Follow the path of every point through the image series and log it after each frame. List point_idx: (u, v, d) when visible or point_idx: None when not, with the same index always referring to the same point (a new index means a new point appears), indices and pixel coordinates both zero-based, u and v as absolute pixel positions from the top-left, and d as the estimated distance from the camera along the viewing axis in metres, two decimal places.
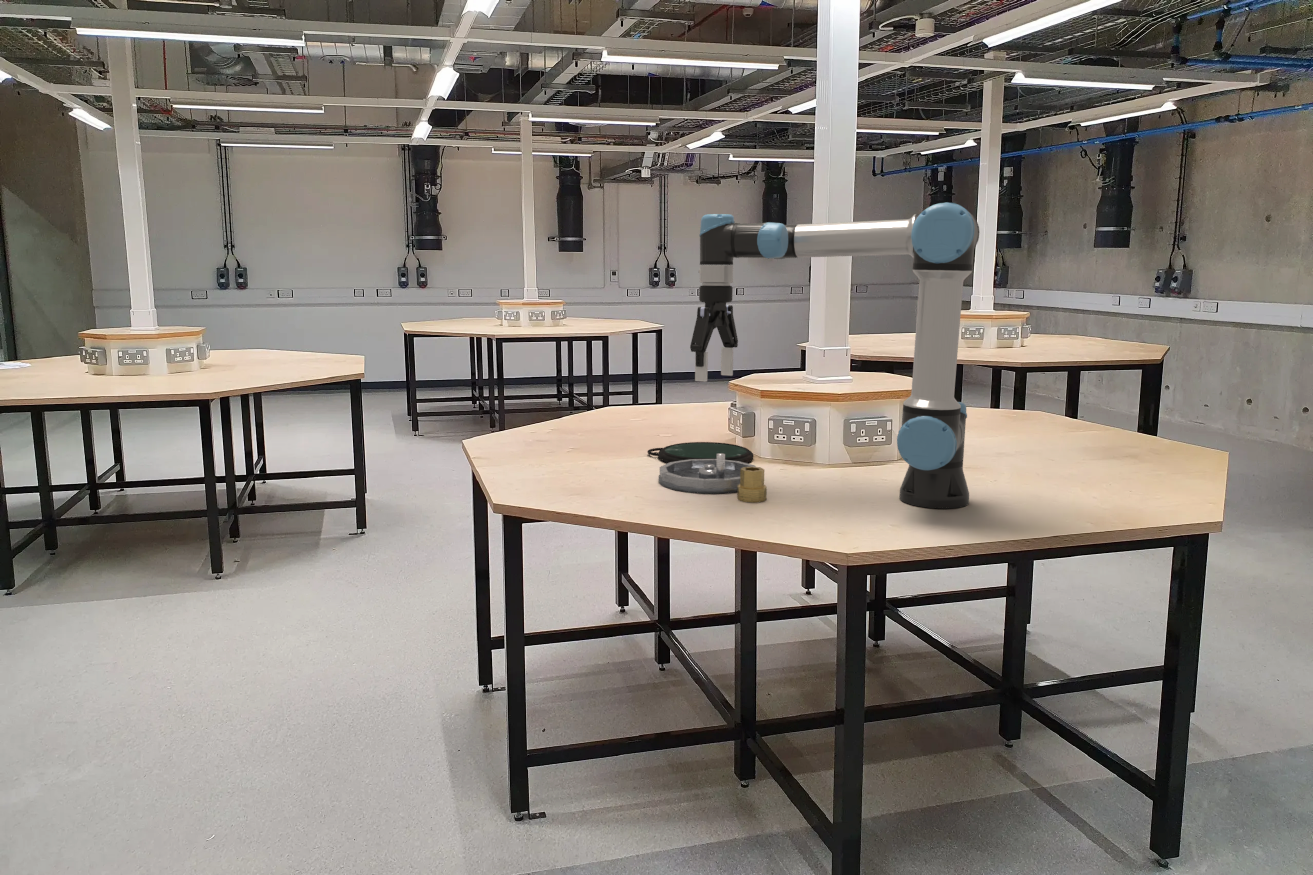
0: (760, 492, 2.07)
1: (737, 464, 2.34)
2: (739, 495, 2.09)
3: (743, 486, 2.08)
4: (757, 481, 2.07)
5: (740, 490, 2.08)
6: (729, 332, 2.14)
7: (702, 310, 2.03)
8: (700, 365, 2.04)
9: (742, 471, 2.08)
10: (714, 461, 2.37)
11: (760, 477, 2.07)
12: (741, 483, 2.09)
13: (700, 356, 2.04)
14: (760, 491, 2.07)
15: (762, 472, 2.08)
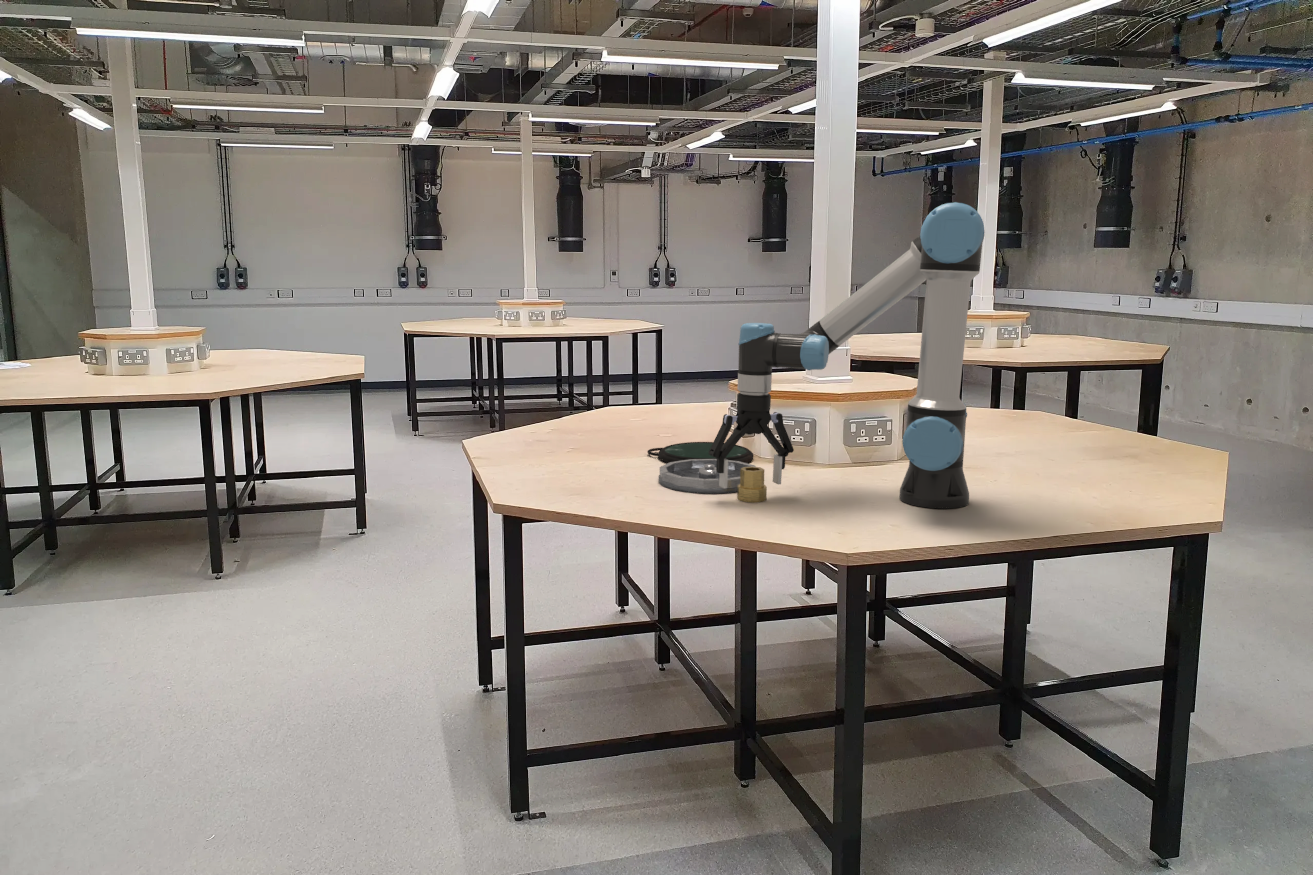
0: (760, 492, 2.07)
1: (737, 464, 2.34)
2: (739, 495, 2.09)
3: (743, 486, 2.08)
4: (757, 481, 2.07)
5: (740, 490, 2.08)
6: (775, 440, 2.09)
7: (725, 418, 2.05)
8: (718, 471, 2.06)
9: (742, 471, 2.08)
10: (714, 461, 2.37)
11: (760, 477, 2.07)
12: (741, 483, 2.09)
13: (718, 463, 2.06)
14: (760, 491, 2.07)
15: (762, 472, 2.08)
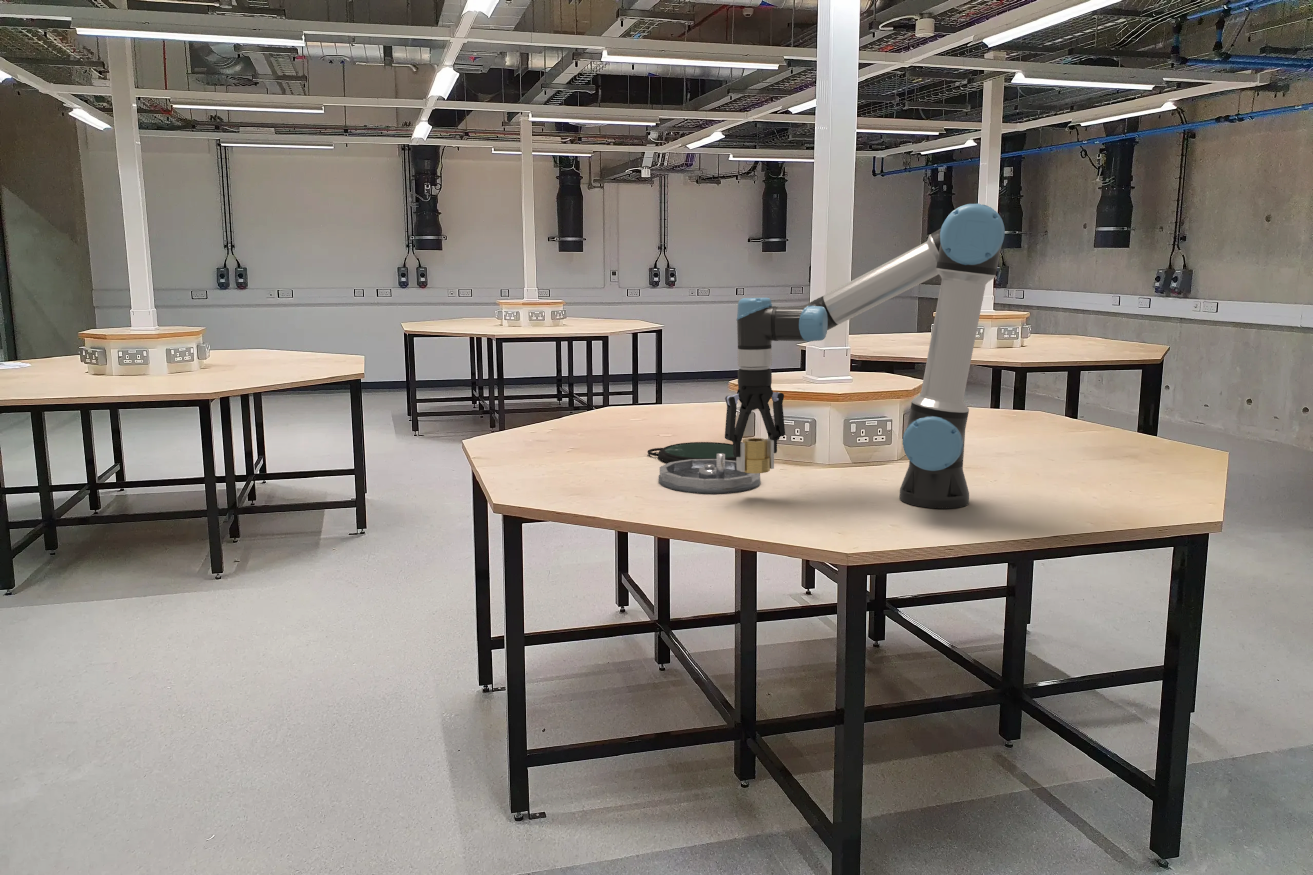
0: (763, 463, 2.06)
1: None
2: None
3: (746, 457, 2.07)
4: (760, 452, 2.06)
5: None
6: (770, 421, 2.07)
7: (727, 400, 2.04)
8: (735, 455, 2.06)
9: (745, 442, 2.07)
10: (714, 461, 2.37)
11: (763, 448, 2.06)
12: None
13: (735, 446, 2.06)
14: (763, 461, 2.06)
15: (765, 443, 2.07)
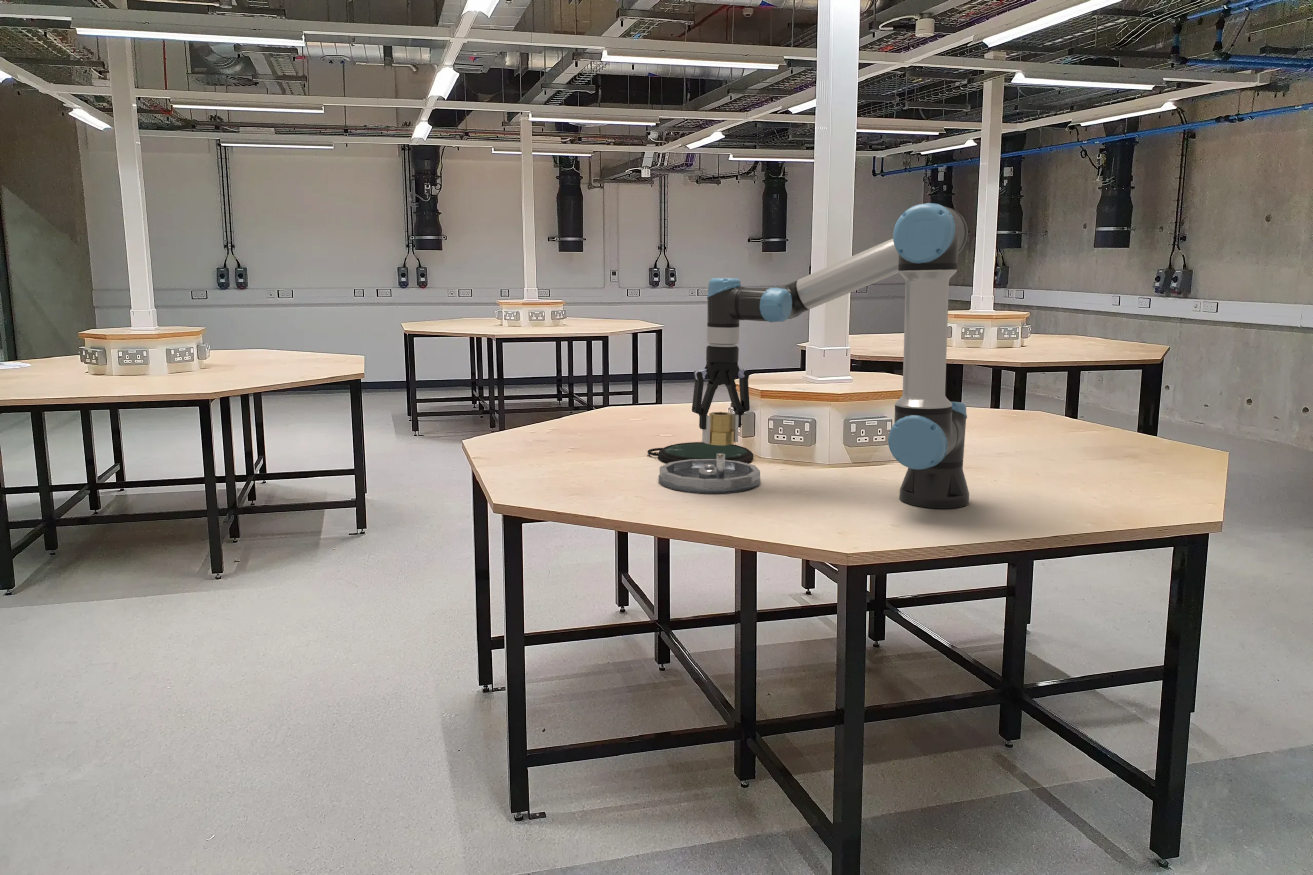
0: (727, 435, 2.16)
1: (737, 464, 2.34)
2: None
3: (711, 430, 2.17)
4: (725, 425, 2.16)
5: None
6: (736, 396, 2.17)
7: (695, 375, 2.14)
8: (701, 428, 2.16)
9: (711, 415, 2.17)
10: (714, 461, 2.37)
11: (728, 421, 2.16)
12: (710, 427, 2.18)
13: (701, 419, 2.16)
14: (727, 434, 2.16)
15: (730, 416, 2.17)
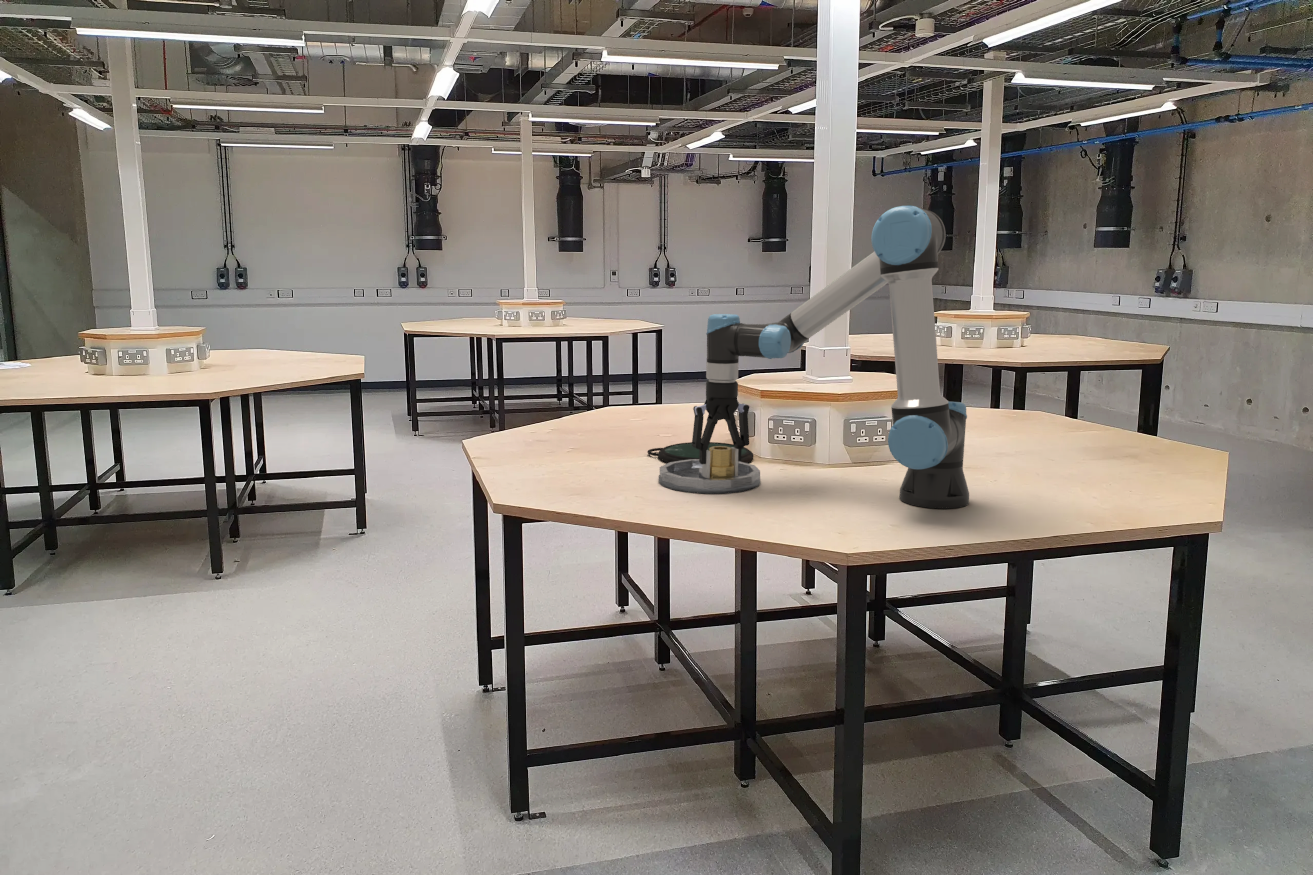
0: (727, 470, 2.18)
1: None
2: None
3: (711, 464, 2.19)
4: (725, 459, 2.18)
5: None
6: (735, 431, 2.19)
7: (695, 410, 2.15)
8: (701, 462, 2.18)
9: (710, 450, 2.19)
10: None
11: (727, 456, 2.18)
12: (710, 461, 2.20)
13: (701, 454, 2.18)
14: (727, 469, 2.18)
15: (729, 451, 2.18)
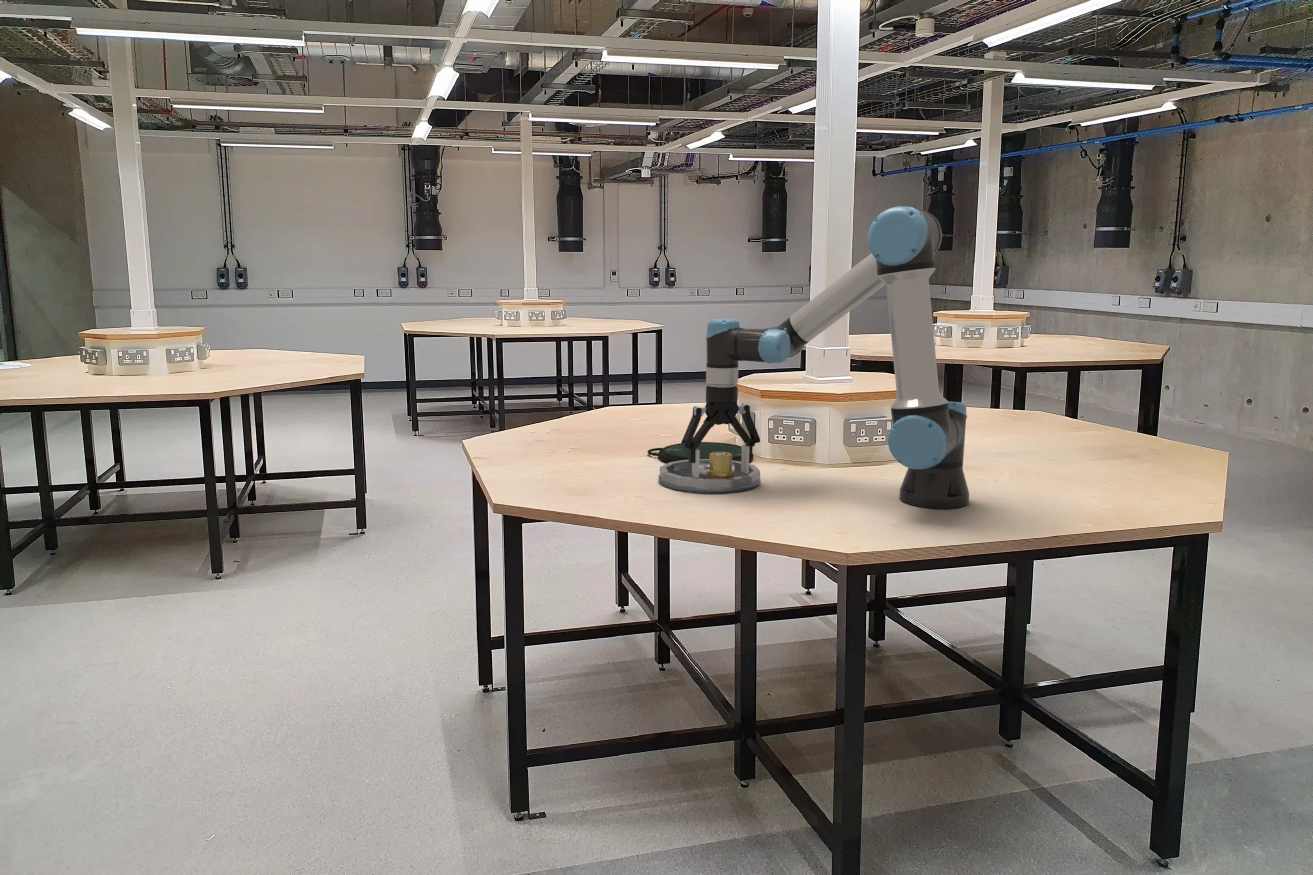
0: (728, 476, 2.18)
1: (737, 464, 2.34)
2: None
3: (712, 470, 2.19)
4: (725, 465, 2.18)
5: (709, 474, 2.19)
6: (742, 431, 2.19)
7: (695, 410, 2.15)
8: (690, 461, 2.17)
9: (711, 456, 2.19)
10: None
11: (728, 461, 2.18)
12: (710, 467, 2.20)
13: (690, 453, 2.16)
14: (727, 474, 2.18)
15: (730, 457, 2.19)
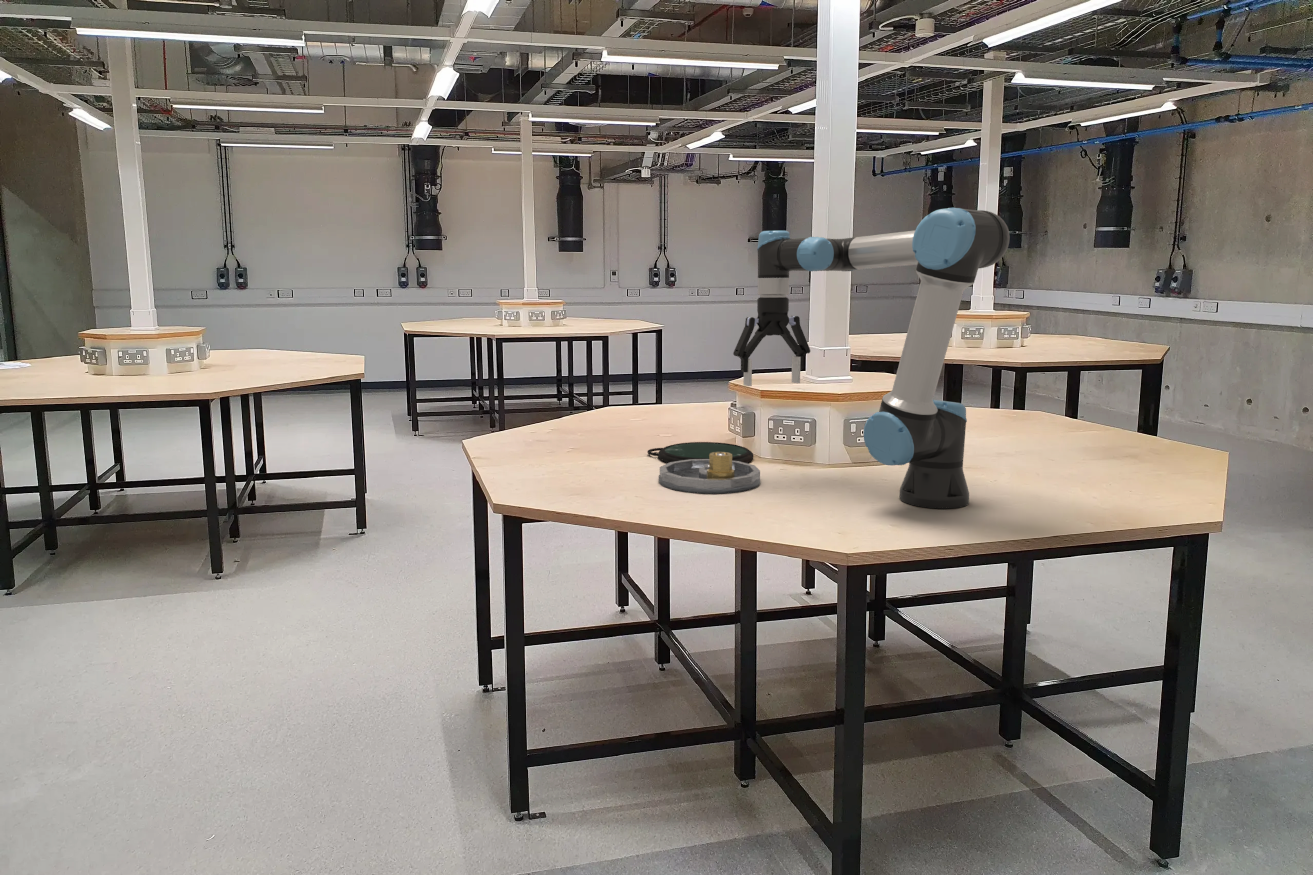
0: (728, 476, 2.18)
1: (737, 464, 2.34)
2: None
3: (712, 470, 2.19)
4: (725, 465, 2.18)
5: (709, 474, 2.19)
6: (793, 341, 2.25)
7: (748, 320, 2.20)
8: (743, 370, 2.21)
9: (711, 456, 2.19)
10: None
11: (728, 461, 2.18)
12: (710, 467, 2.20)
13: (743, 362, 2.21)
14: (727, 474, 2.18)
15: (730, 457, 2.19)
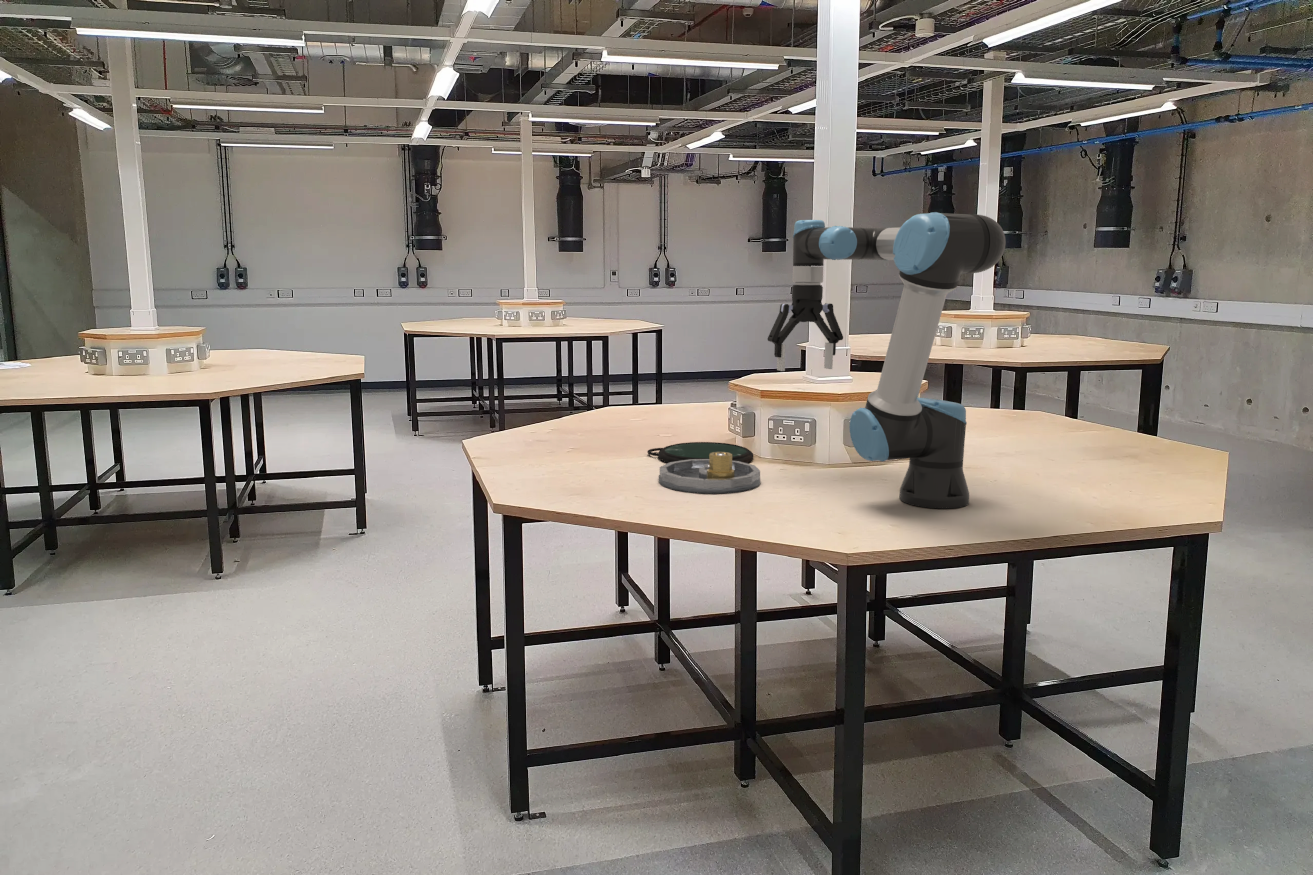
0: (728, 476, 2.18)
1: (737, 464, 2.34)
2: None
3: (712, 470, 2.19)
4: (725, 465, 2.18)
5: (709, 474, 2.19)
6: (826, 328, 2.31)
7: (782, 306, 2.27)
8: (776, 356, 2.28)
9: (711, 456, 2.19)
10: None
11: (728, 461, 2.18)
12: (710, 467, 2.20)
13: (776, 347, 2.28)
14: (727, 474, 2.18)
15: (730, 457, 2.19)
